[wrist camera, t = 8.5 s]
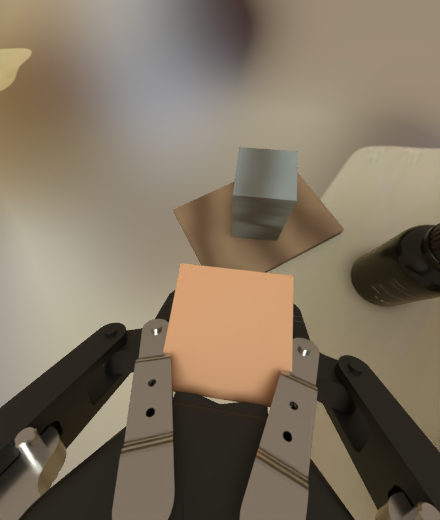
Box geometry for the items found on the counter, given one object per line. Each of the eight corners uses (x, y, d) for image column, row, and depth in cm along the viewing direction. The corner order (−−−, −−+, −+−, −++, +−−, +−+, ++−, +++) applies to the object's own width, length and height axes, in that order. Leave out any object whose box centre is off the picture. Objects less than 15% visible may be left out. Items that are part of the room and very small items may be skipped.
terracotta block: (263, 305, 18) (293, 275, 9) (259, 372, 16) (291, 410, 8) (204, 297, 18) (180, 263, 10) (194, 362, 17) (155, 388, 8)
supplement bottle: (357, 247, 29) (439, 189, 18) (411, 268, 28) (534, 222, 17) (342, 291, 27) (422, 259, 16) (398, 317, 26) (529, 301, 15)
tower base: (283, 164, 34) (305, 97, 25) (339, 233, 30) (392, 184, 20) (175, 214, 32) (152, 161, 22) (218, 297, 28) (212, 276, 18)
